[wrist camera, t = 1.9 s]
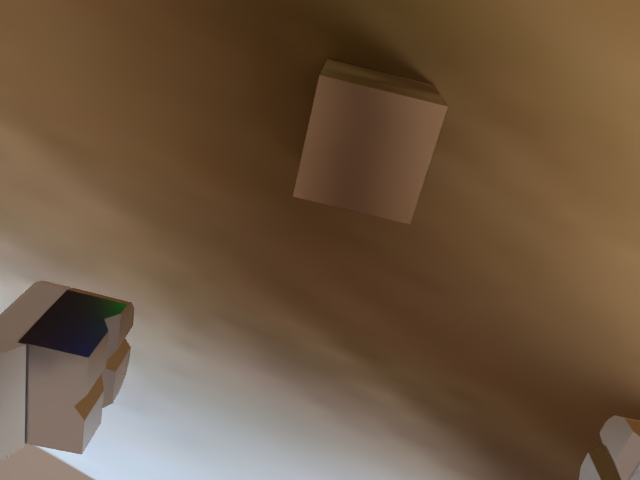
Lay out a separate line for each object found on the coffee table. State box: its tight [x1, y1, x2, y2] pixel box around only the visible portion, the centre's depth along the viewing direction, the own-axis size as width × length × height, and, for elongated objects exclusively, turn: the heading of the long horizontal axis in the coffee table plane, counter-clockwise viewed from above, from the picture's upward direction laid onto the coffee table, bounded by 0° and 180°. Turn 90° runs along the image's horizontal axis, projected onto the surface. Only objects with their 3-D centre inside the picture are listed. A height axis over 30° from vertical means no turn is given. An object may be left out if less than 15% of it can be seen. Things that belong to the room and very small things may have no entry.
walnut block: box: [293, 59, 448, 225], centre depth 25 cm, size 5×5×5 cm
